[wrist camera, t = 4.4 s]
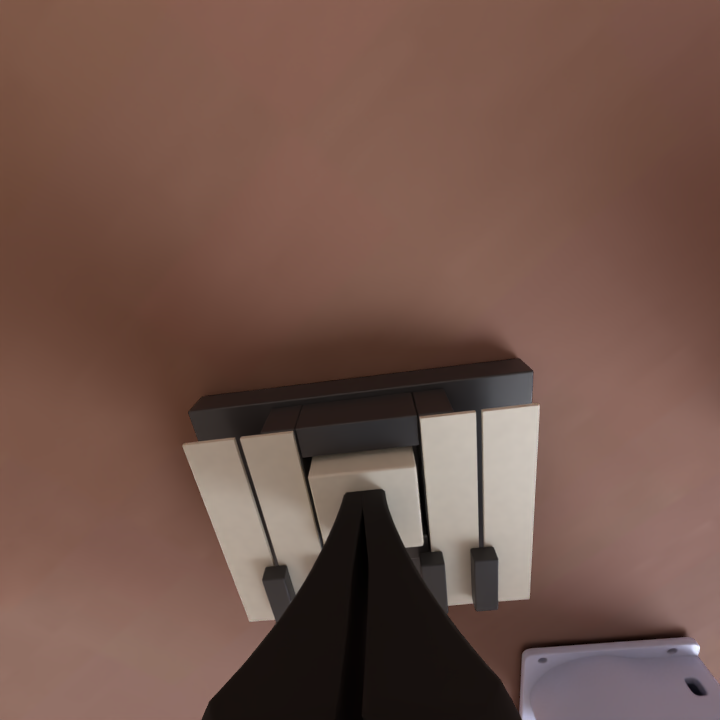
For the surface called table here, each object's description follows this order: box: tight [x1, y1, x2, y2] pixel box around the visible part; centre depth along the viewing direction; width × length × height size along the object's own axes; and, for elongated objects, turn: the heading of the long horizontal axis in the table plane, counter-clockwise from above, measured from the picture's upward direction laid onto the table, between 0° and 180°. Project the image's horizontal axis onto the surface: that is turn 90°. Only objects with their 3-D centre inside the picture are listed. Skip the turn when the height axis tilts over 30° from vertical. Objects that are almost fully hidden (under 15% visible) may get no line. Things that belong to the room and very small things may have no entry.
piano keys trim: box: [182, 403, 540, 623], centre depth 13 cm, size 9×12×1 cm
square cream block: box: [308, 446, 424, 548], centre depth 13 cm, size 4×4×2 cm
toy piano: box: [188, 358, 533, 575], centre depth 15 cm, size 10×13×3 cm
